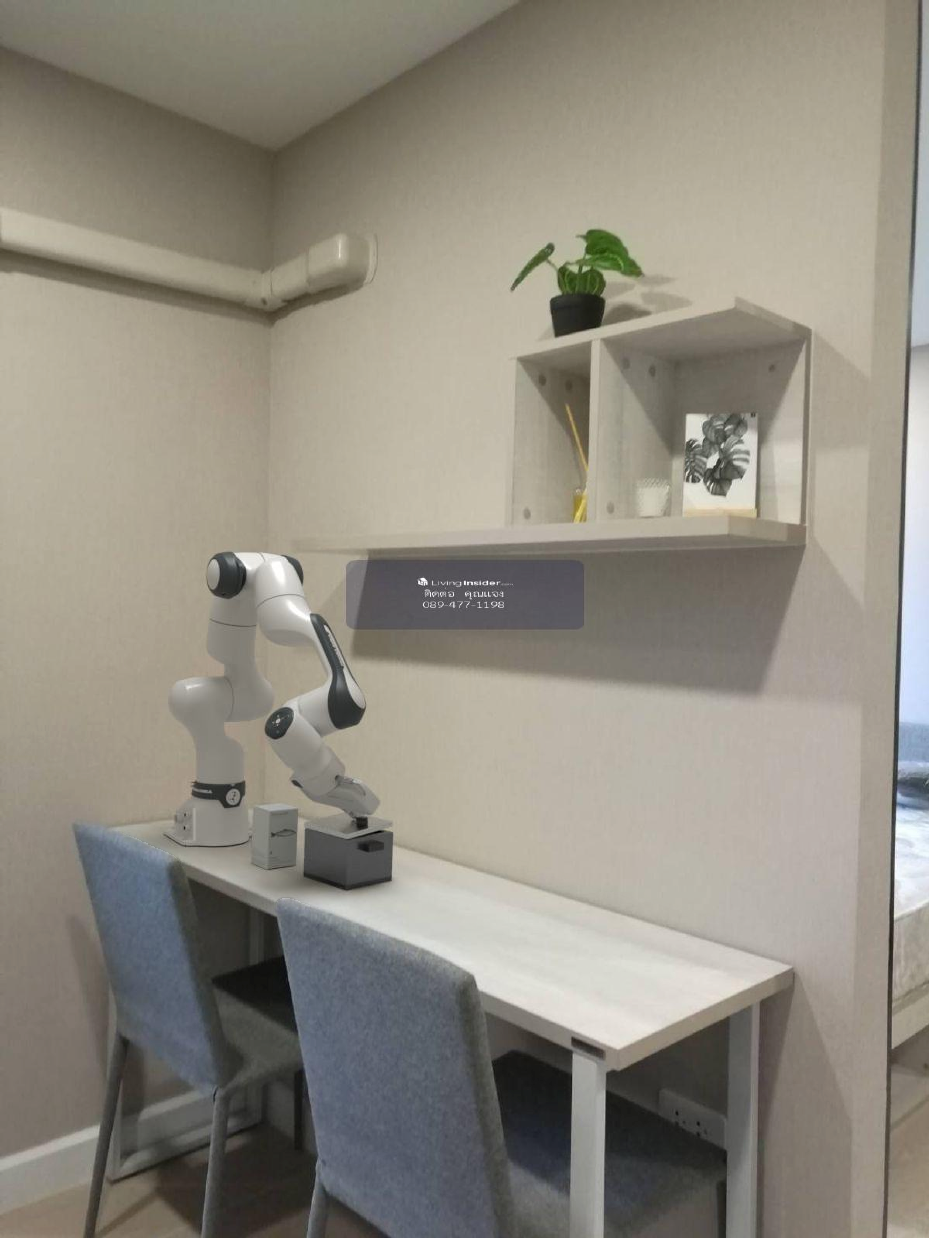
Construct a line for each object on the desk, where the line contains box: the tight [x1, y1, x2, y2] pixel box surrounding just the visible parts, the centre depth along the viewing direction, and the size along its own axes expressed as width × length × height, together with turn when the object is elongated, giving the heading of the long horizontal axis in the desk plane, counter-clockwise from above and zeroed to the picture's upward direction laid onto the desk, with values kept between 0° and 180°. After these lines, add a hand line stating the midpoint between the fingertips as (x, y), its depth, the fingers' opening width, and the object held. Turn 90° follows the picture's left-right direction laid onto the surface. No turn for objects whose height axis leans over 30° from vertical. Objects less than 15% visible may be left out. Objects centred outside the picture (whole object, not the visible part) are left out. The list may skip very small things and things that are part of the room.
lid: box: [303, 811, 394, 839], centre depth 204 cm, size 14×12×3 cm
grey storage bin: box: [303, 827, 394, 892], centre depth 204 cm, size 18×12×10 cm
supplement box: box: [250, 802, 299, 871], centre depth 214 cm, size 7×7×13 cm
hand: (358, 816), depth 206 cm, fingers closed, pressing on lid
